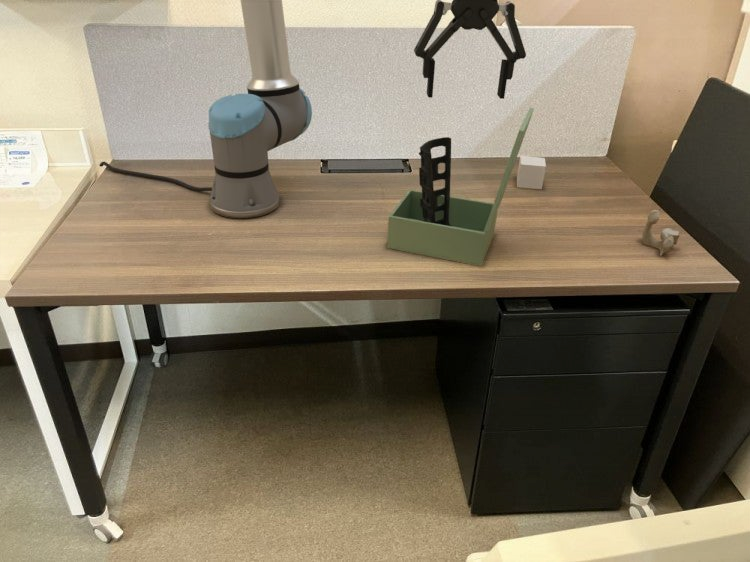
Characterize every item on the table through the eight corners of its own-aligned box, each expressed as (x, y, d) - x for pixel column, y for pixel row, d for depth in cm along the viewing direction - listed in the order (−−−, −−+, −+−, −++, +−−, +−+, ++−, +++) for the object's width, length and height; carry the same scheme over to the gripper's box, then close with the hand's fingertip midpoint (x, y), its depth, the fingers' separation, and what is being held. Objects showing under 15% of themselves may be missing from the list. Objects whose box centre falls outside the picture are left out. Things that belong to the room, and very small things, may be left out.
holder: (455, 251, 119) (454, 154, 109) (417, 250, 121) (413, 154, 111) (459, 227, 128) (459, 135, 118) (424, 226, 130) (421, 135, 120)
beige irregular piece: (696, 251, 120) (683, 213, 116) (667, 268, 121) (653, 230, 116) (670, 234, 128) (657, 197, 123) (643, 250, 129) (629, 213, 124)
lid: (519, 129, 101) (523, 131, 101) (530, 107, 112) (534, 108, 112) (484, 231, 112) (488, 232, 112) (497, 201, 124) (500, 202, 124)
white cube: (516, 178, 155) (520, 155, 151) (540, 180, 154) (544, 157, 151) (517, 187, 150) (520, 164, 146) (541, 189, 149) (546, 166, 146)
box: (387, 248, 122) (388, 216, 118) (407, 218, 133) (409, 189, 129) (481, 266, 116) (485, 233, 113) (494, 234, 128) (498, 204, 124)
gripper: (407, -30, 99) (401, 100, 110) (556, -26, 100) (535, 102, 112) (403, -34, 105) (398, 89, 117) (544, -30, 107) (524, 91, 118)
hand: (465, 96), depth 114 cm, fingers open, 13 cm apart
